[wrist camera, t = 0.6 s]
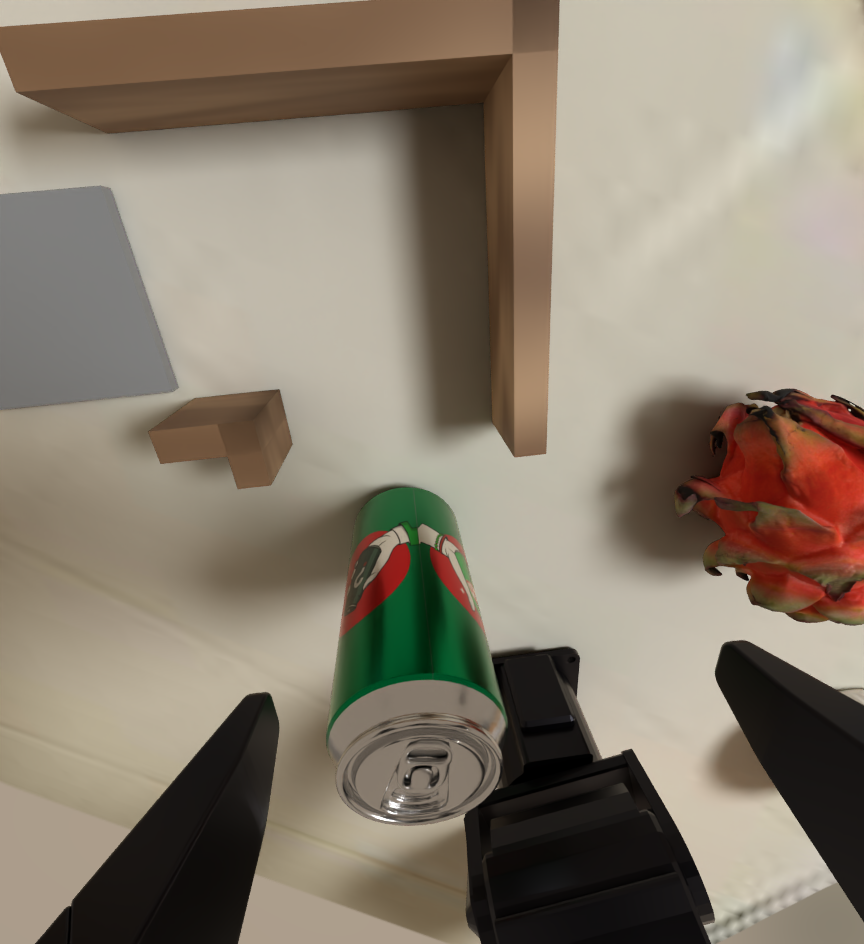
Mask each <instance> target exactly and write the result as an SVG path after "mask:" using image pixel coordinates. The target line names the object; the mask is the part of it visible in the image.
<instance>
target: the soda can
mask: <svg viewBox="0 0 864 944" xmlns="http://www.w3.org/2000/svg"><path fill="white" fill-rule="evenodd" d="M507 732H508V720H507V716H506V712H505V708H504V704H503V700H502V696H501V693H500V689H499V685H498V681H497V677H496V673H495V669H494V665H493V661H492V657H491V654H490V650H489V646H488V642H487V638H486V634H485V630H484V626H483V622H482V618H481V615H480V611H479V607H478V603H477V599H476V595H475V591H474V587H473V583H472V580H471V576H470V572H469V568H468V564H467V560H466V556H465V552H464V548H463V544H462V541H461V537H460V533H459V529H458V525H457V521H456V517H455V515H454V513H453V511H452V509H451V508H450V507H449V505H448V504H447V503H446V502H445V501H444V500H443V499H441V498H440V497H439V496H437V495H435V494H433V493H431V492H429V491H426V490H423V489H419V488H413V487H402V488H395V489H391V490H387V491H385V492H382V493H380V494H378V495H377V496H375V497H373V498H372V499H371V500H370V501H368V502H367V503H366V504H365V505H364V507H363V508H362V509H361V511H360V512H359V514H358V516H357V518H356V521H355V524H354V530H353V537H352V545H351V552H350V560H349V567H348V575H347V582H346V589H345V597H344V604H343V612H342V619H341V627H340V634H339V642H338V649H337V657H336V664H335V672H334V679H333V687H332V694H331V702H330V709H329V717H328V724H327V732H326V746H327V750H328V753H329V756H330V758H331V760H332V761H333V763H334V765H335V767H336V769H337V770H336V786H337V789H338V793H339V795H340V797H341V798H342V800H343V801H344V803H345V804H346V805H347V806H348V807H349V808H351V809H352V810H353V811H355V812H356V813H358V814H360V815H361V816H363V817H365V818H368V819H371V820H373V821H377V822H381V823H385V824H392V825H404V826H413V825H426V824H433V823H437V822H442V821H446V820H449V819H452V818H455V817H458V816H460V815H462V814H464V813H467V812H468V811H470V810H472V809H474V808H475V807H477V806H478V805H480V804H481V803H482V802H484V801H485V800H486V799H487V798H488V797H489V796H490V795H491V794H492V793H493V792H494V790H495V789H496V788H497V786H498V784H499V782H500V780H501V777H502V773H503V757H502V753H501V751H502V748H503V746H504V743H505V741H506V736H507Z"/></svg>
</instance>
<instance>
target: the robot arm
mask: <svg viewBox="0 0 864 944" xmlns="http://www.w3.org/2000/svg"><path fill="white" fill-rule="evenodd" d="M492 661H493V665H494V669H495V673H496V677H497V681H498V685H499V689H500V693H501V696H502V700H503V704H504V708H505V712H506V716H507V720H508V732H507V736H506V741H505V743H504V746H503V748H502V751H501V753H502V757H503V773H502V777H501V780H500V782H499V784H498V786H497V788H498V789H496V790H494V792H493V793H492V794H491V795H490V796H489V797H488V798H487V799H486V800H485V801H484V802H482V803H481V804H480V805H478V806H477V807H475V808H474V809H472V810H470V811H468V812H467V813H466V814H465V818H464V824H465V831H466V841H467V859H468V879H467V898H466V917H467V923H468V926H469V928H470V929H471V930H472V931H473V932H474V933H475V934H476V935H477V936H478V937H479V938H480V941H481V944H711V942H710V940H709V938H708V935H707V933H706V930H705V928H704V926H703V925H706V924H710V923H714V921H715V917H714V912H713V909H712V906H711V902H710V900H709V897H708V894H707V892H706V889H705V886H704V884H703V881H702V879H701V877H700V874H699V872H698V870H697V867H696V865H695V863H694V861H693V858H692V856H691V854H690V852H689V850H688V848H687V846H686V844H685V842H684V840H683V838H682V836H681V834H680V832H679V830H678V828H677V826H676V825H675V823H674V821H673V819H672V817H671V816H670V814H669V812H668V810H667V809H666V807H665V805H664V804H663V802H662V800H661V798H660V797H659V795H658V793H657V791H656V790H655V788H654V786H653V785H652V783H651V781H650V779H649V778H648V776H647V774H646V772H645V771H644V769H643V767H642V765H641V764H640V762H639V760H638V759H637V757H636V755H635V753H634V752H633V750H632V749H629V750H625V751H622V752H621V753H622V754H619V755H615V756H612V757H608V758H605V759H602V757H601V755H600V752H599V750H598V748H597V745H596V743H595V741H594V738H593V736H592V734H591V731H590V729H589V727H588V724H587V722H586V720H585V717H584V715H583V713H582V710H581V708H580V705H579V703H578V701H577V686H578V674H579V662H580V657H579V655H578V653H577V651H576V650H575V649H572V648H569V649H562V650H554V651H547V652H539V653H532V654H524V655H517V656H509V657H501V658H494V659H492ZM715 677H716V681H717V683H718V686H719V687H720V689H721V691H722V693H723V695H724V697H725V699H726V700H727V702H728V704H729V706H730V708H731V710H732V712H733V714H734V715H735V717H736V719H737V721H738V723H739V725H740V727H741V728H742V730H743V732H744V734H745V736H746V738H747V740H748V741H749V743H750V745H751V747H752V749H753V751H754V752H755V754H756V756H757V758H758V759H759V761H760V763H761V765H762V766H763V768H764V769H765V771H766V773H767V774H768V776H769V777H770V779H771V780H772V782H773V783H774V785H775V787H776V788H777V790H778V791H779V793H780V794H781V796H782V797H783V799H784V800H785V802H786V803H787V805H788V806H789V808H790V810H791V811H792V813H793V814H794V816H795V817H796V819H797V820H798V822H799V823H800V825H801V826H802V828H803V829H804V831H805V833H806V834H807V836H808V837H809V839H810V840H811V842H812V843H813V845H814V846H815V848H816V849H817V851H818V853H819V854H820V856H821V857H822V859H823V860H824V862H825V863H826V865H827V866H828V868H829V869H830V871H831V872H832V874H833V876H834V877H835V879H836V880H837V882H838V883H839V885H840V886H841V888H842V889H843V891H844V892H845V894H846V895H847V897H848V899H849V900H850V902H851V903H852V905H853V906H854V908H855V909H856V911H857V912H858V914H859V915H860V917H861V918H862V920H863V922H864V705H863V704H861V703H859V702H857V701H856V700H854V699H852V698H850V697H848V696H847V695H845V694H843V693H841V692H839V691H837V690H836V689H834V688H832V687H830V686H828V685H827V684H825V683H823V682H821V681H819V680H818V679H816V678H814V677H812V676H810V675H808V674H807V673H805V672H803V671H801V670H799V669H798V668H796V667H794V666H792V665H790V664H789V663H787V662H785V661H783V660H781V659H779V658H778V657H776V656H774V655H772V654H770V653H769V652H767V651H765V650H763V649H761V648H760V647H758V646H756V645H754V644H752V643H750V642H748V641H744V640H739V641H730V642H725V643H724V644H723V645H722V647H721V650H720V654H719V658H718V661H717V665H716V669H715ZM278 737H279V720H278V716H277V713H276V710H275V706H274V703H273V700H272V697H271V695H270V694H269V693H268V692H263V693H253V694H249V695H247V696H246V697H244V699H243V700H242V701H241V702H240V703H239V704H238V706H237V707H236V708H235V709H234V710H233V711H232V713H231V714H230V715H229V716H228V717H227V719H226V720H225V721H224V722H223V723H222V724H221V726H220V727H219V728H218V729H217V730H216V731H215V733H214V734H213V735H212V736H211V737H210V739H209V740H208V741H207V742H206V743H205V744H204V746H203V747H202V748H201V749H200V750H199V752H198V753H197V754H196V755H195V756H194V757H193V759H192V760H191V761H190V762H189V763H188V764H187V766H186V767H185V768H184V769H183V770H182V772H181V773H180V774H179V775H178V776H177V777H176V779H175V780H174V781H173V782H172V783H171V785H170V786H169V787H168V788H167V789H166V790H165V792H164V793H163V794H162V795H161V796H160V798H159V799H158V800H157V801H156V802H155V803H154V805H153V806H152V807H151V808H150V809H149V810H148V812H147V813H146V814H145V815H144V816H143V818H142V819H141V820H140V821H139V822H138V823H137V825H136V826H135V827H134V828H133V829H132V831H131V832H130V833H129V834H128V835H127V836H126V838H125V839H124V840H123V841H122V842H121V843H120V845H119V846H118V847H117V848H116V849H115V851H114V852H113V853H112V854H111V855H110V856H109V858H108V859H107V860H106V861H105V863H104V864H103V865H102V866H101V867H100V868H99V869H98V871H97V872H96V873H95V874H94V876H93V877H92V878H91V879H90V880H89V881H88V882H87V884H86V885H85V886H84V887H83V888H82V890H81V891H80V892H79V893H78V894H77V895H76V897H75V898H74V899H73V901H72V903H71V906H68V907H66V908H65V909H64V911H63V912H62V913H61V914H60V915H59V916H58V917H57V919H56V920H55V921H54V923H52V925H51V926H50V927H49V928H48V929H47V930H46V932H45V933H44V934H43V935H42V936H41V938H40V939H39V940H38V941H37V942H36V943H35V944H238V941H239V936H240V933H241V928H242V924H243V920H244V916H245V911H246V907H247V903H248V899H249V895H250V891H251V886H252V882H253V878H254V874H255V870H256V866H257V861H258V857H259V853H260V849H261V845H262V841H263V836H264V831H265V827H266V821H267V815H268V809H269V802H270V795H271V787H272V780H273V773H274V766H275V759H276V752H277V744H278Z"/></svg>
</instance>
